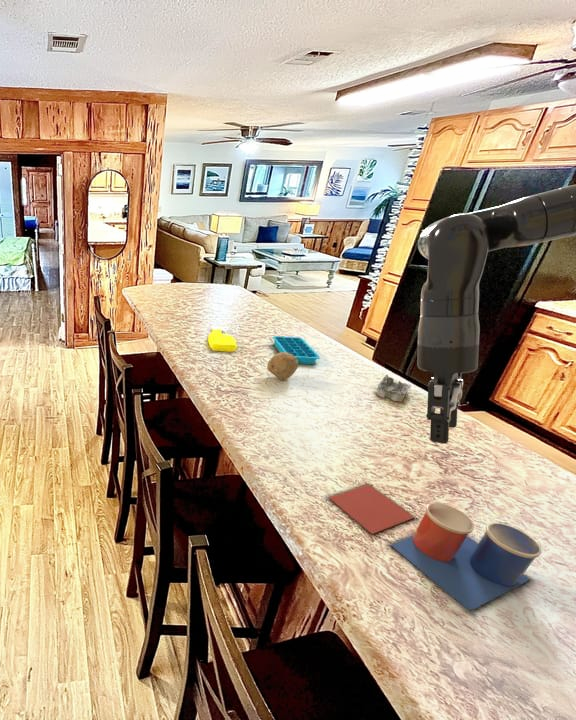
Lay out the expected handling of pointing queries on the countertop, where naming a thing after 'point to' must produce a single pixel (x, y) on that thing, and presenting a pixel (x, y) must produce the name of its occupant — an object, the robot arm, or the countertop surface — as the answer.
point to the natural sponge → (282, 365)
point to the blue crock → (504, 554)
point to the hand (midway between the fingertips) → (443, 433)
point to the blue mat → (456, 574)
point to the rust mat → (371, 508)
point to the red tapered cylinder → (442, 531)
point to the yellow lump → (221, 340)
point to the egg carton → (392, 389)
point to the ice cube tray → (296, 349)
